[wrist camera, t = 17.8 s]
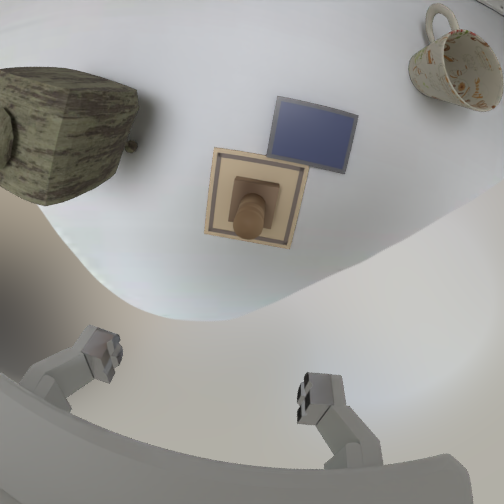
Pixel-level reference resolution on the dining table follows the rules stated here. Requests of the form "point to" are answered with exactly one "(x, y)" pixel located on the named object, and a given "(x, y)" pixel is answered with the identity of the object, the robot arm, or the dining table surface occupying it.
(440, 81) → the mug
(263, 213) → the stamp
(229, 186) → the card
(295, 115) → the ink pad
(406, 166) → the dining table surface
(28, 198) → the tabletop clock
